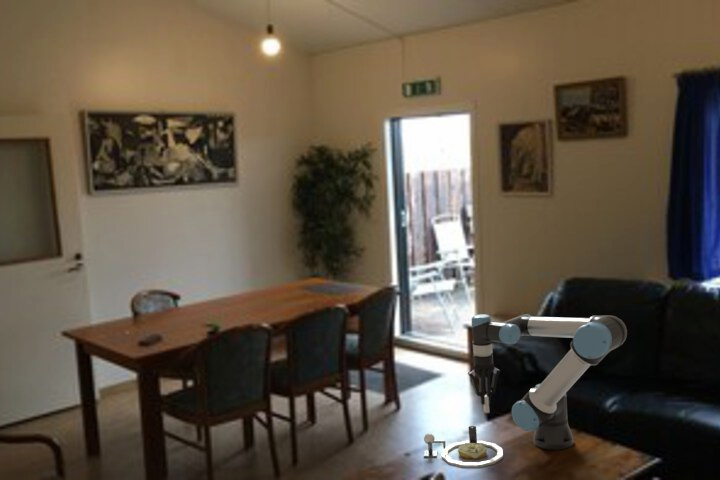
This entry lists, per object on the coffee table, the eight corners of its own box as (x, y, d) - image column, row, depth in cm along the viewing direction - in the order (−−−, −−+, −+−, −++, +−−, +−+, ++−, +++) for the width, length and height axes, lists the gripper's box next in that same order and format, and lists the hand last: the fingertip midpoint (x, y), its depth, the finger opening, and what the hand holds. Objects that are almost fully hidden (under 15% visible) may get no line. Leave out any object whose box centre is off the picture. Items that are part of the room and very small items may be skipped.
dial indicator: (446, 452, 286) (445, 430, 285) (445, 458, 281) (444, 435, 280) (425, 452, 288) (423, 430, 287) (423, 458, 283) (422, 435, 282)
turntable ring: (502, 442, 291) (501, 425, 290) (502, 467, 268) (501, 448, 267) (444, 442, 296) (443, 426, 295) (440, 467, 273) (438, 449, 272)
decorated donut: (478, 463, 274) (478, 453, 274) (453, 458, 281) (453, 449, 280) (491, 453, 282) (491, 444, 282) (466, 448, 289) (466, 439, 288)
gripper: (495, 349, 294) (498, 406, 296) (464, 353, 292) (467, 410, 294) (502, 354, 286) (505, 412, 289) (470, 358, 284) (473, 417, 287)
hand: (486, 411), depth 292 cm, fingers closed
